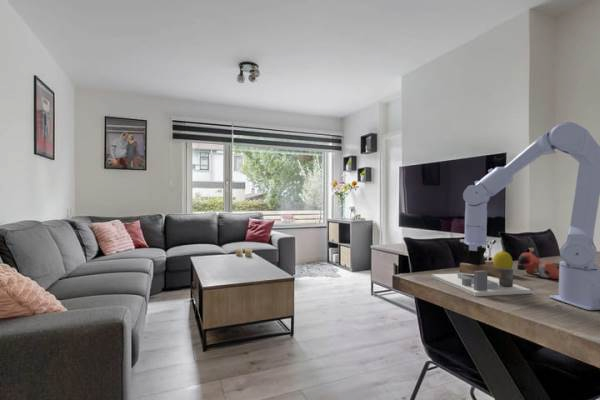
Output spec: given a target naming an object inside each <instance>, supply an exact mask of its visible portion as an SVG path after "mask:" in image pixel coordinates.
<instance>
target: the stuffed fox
mask: <svg viewBox="0 0 600 400" xmlns="http://www.w3.org/2000/svg"><path fill="white" fill-rule="evenodd" d="M534 251H535V247H528V248H527V250H526V252H521V253H520V255H519V256H518V261H517V263H518V264H517V266H516V267H517V268H516V269H517V270H519V271H525V272H526V274H537V273H538V275H539V277H540V278H542V279H545V280H546V279H547V280H548V279H550V280H551V279H552V280H559V263H558V262H557V263H556V262H553V261H548V260H547V261H546V260H545V261H541V260H540V259H539V257H537V256H536V255H535V254H534Z"/></svg>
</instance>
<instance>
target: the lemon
mask: <svg viewBox="0 0 600 400" xmlns="http://www.w3.org/2000/svg"><path fill="white" fill-rule="evenodd" d="M492 263H493V267H501V268H510V269H513V266H514V262H513V257H512V256H511V254H510V253H508V252H507V251H505V250H501V251H498V252H496V253H495V254H494V256H493V261H492Z"/></svg>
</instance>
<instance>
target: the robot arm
mask: <svg viewBox="0 0 600 400" xmlns="http://www.w3.org/2000/svg"><path fill="white" fill-rule="evenodd" d="M556 150H558V151H560V152H562V153H565V154H567V155H570V156H571V157H572V158H573V159H574V160H576V161H577V162H578V163H579V164H578V169H577V176H576V177H577V178H576V182H575V189H574V195H573V196H574V197H573V202H572V208H571V209H572V212H571V217H570V222H569V229H568V232H567V237H566V240H565V242H564V243H563V245H562V246H561V248H560V250H559V255H560V258H561V260H562V261H558V262H559V279H558V294H557V295H555V294H553V295H552V294H551V295H549V297H548V298H549V299H550V298H551V299H553V300H556V301H559V302H562V303H565V304H568V305H571V306H575V307H577V308H581V309H583V310H587V311H597V310H600V269H599V265H598V264H597V263H595V262H594V261H595V259H596V255H597V248H596V245H595V242H594V236H595V228H596V223H597V222H596V221H597V215H598V214H597V213H598V209H599V202H600V145H599V144H598V142H597V141H596V140H595V139H594V137H593V136H592V134H591V133H590V132H589V130H588V129H586V128H585V127H583V126H581V125H579V124H577V123H576V122H573V121H564V122H560V123H559V124H555V126H553V127H552V129H551V130H550V131H549V130H548V131H546V132H544V133H542V135H541V136H539V137H538V138H537V139H536V140H534V141H533V142H532V143H531V144H530V145H528V146H527V147H526V148H525V149H524V150H522V151H521V152H520V153H519V154H518V155H516V156H515V157H514V158H513V159H512V160H511V161H509V162H508V163H507V164H506V165H504V166H496V167H494V168H493V167H492V168H490V169H488V170H487V172H488V173H487V174H486V175H484V176H483V177H482V178H481V179H480V180H476V181H474V184H471V185H468V186H467V187H466V188H465V189H464V191H463V193H462V198H463V200H464V202H465V207H464V208H465V211H464V237H463V238H464V239H459V243H464V244H465V245H467V246H464V247H463V250H464V252H465V255H467V256H466V257H467V259H468V264H476V265H482V260H483V259H482V258H483V257H484V254H485V253H486V250H487V248H486V247H481V246H486V245H488V241H487V236H488V235H487V232H488V231H487V230H488V228H487V225H488V209H487V208H488V202H489V201H490V199H491V197H494V196H496V195H497V194H498V193H499V192H501V190H503V189H504V188H506V187H508V186H509V185H510V184H511V183H512V182H513V179H514V175H516V174H517V173H518V172H520V171H521V170H522V169H524V168H526V167H527V166H528V165H530V164H531V163H533V162H535V161H536V160H537V159H538V158H540V157H542V156H546V155H553V154H556Z"/></svg>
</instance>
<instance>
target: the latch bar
mask: <svg viewBox="0 0 600 400" xmlns="http://www.w3.org/2000/svg"><path fill="white" fill-rule="evenodd" d="M474 271H487V276H489V277H493V278H496V279H499V285H502V286H507V287H512V286H513V284H514V269H513V268H512V269H510V268H501V267H494V265H492V266H491V265H483V264H480V265H476V264H469V262H468V263H466V262H460V263H459V273H467V274H474Z"/></svg>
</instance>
